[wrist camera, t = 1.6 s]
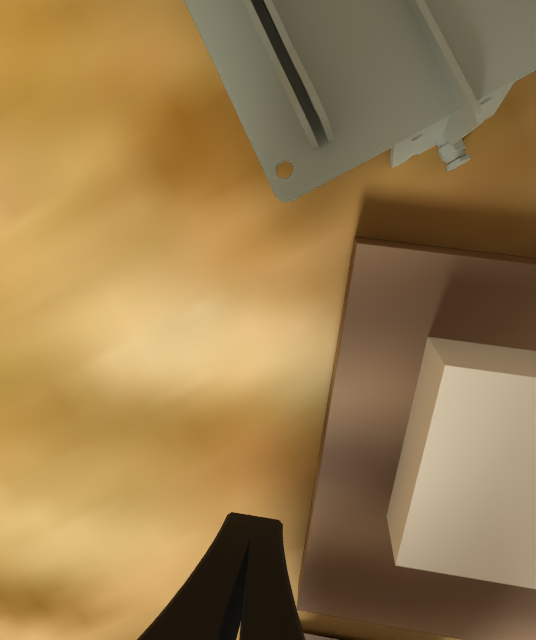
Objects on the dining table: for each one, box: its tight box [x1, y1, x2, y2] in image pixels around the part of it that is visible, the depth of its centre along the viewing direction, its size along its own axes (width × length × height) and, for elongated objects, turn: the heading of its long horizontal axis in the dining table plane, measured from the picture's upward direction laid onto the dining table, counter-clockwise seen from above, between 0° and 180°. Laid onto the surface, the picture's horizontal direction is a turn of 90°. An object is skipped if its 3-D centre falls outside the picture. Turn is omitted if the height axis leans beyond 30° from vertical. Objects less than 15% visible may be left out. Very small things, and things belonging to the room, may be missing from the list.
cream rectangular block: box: [387, 337, 536, 589], centre depth 16 cm, size 8×6×2 cm
